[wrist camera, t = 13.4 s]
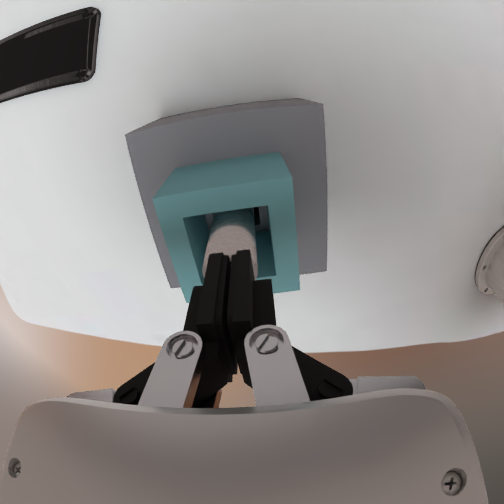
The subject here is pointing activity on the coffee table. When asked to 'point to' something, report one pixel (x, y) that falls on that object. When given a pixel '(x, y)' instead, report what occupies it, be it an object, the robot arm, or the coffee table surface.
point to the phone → (49, 54)
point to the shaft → (232, 235)
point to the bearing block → (238, 145)
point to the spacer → (225, 199)
